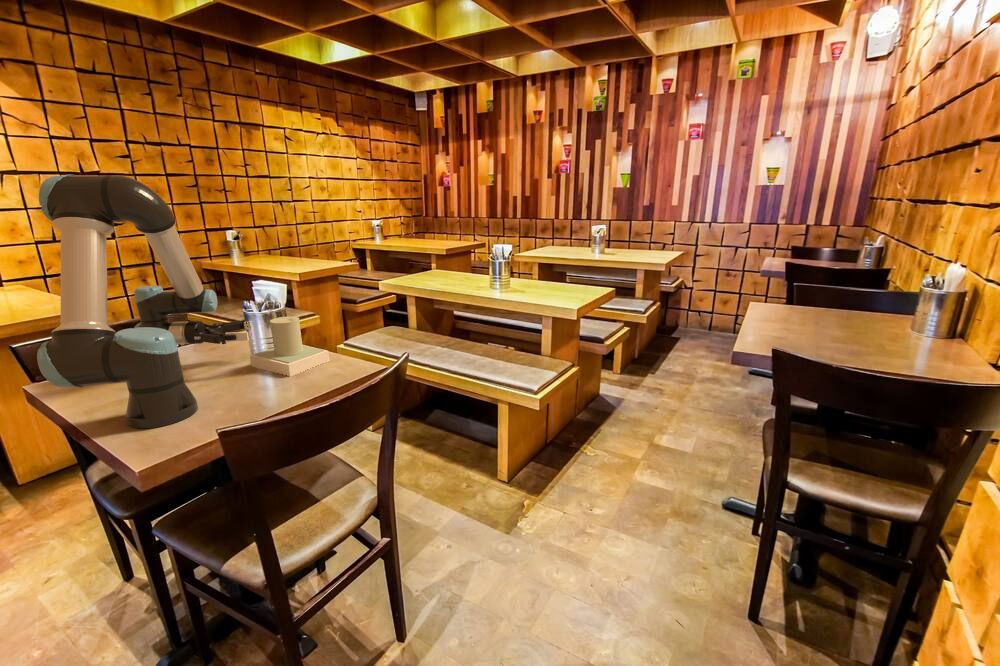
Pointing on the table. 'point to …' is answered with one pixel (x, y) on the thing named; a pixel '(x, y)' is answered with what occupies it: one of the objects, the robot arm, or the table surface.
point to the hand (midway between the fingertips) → (256, 330)
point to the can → (286, 336)
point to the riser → (289, 360)
